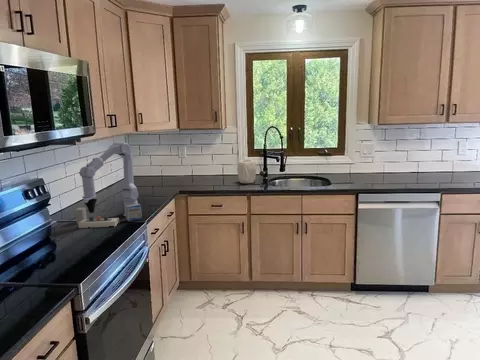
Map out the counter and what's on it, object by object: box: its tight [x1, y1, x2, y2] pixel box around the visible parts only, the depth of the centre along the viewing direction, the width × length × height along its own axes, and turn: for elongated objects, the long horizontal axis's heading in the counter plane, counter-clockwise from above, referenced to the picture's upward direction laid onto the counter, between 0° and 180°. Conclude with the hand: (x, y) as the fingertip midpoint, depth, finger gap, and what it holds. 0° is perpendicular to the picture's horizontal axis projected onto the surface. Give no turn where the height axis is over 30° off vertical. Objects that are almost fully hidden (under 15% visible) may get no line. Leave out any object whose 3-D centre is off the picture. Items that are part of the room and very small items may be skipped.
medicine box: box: [124, 203, 143, 222], centre depth 216 cm, size 8×4×9 cm, turn 126°
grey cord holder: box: [74, 207, 88, 225], centre depth 215 cm, size 5×4×8 cm
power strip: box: [77, 217, 120, 229], centre depth 208 cm, size 7×20×3 cm, turn 91°
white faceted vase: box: [236, 159, 257, 184], centre depth 314 cm, size 16×27×19 cm, turn 169°
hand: (91, 212), depth 207 cm, fingers closed
